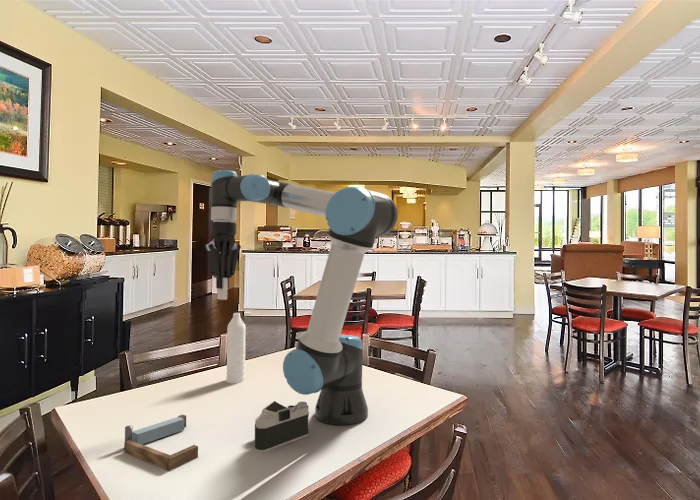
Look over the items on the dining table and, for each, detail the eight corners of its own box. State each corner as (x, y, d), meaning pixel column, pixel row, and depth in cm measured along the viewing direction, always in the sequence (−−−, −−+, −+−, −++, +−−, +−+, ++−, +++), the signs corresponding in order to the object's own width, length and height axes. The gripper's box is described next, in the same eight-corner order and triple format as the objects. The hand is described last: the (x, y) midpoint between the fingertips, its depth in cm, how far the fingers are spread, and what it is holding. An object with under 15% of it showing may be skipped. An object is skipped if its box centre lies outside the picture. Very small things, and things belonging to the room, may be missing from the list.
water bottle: (230, 386, 156) (231, 314, 157) (223, 381, 162) (224, 312, 162) (253, 382, 162) (254, 312, 162) (246, 377, 167) (247, 310, 167)
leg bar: (137, 445, 106) (137, 434, 106) (131, 443, 108) (132, 431, 108) (184, 429, 116) (184, 419, 116) (178, 427, 118) (178, 416, 118)
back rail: (171, 467, 97) (172, 455, 97) (167, 469, 96) (167, 458, 96) (129, 450, 105) (129, 439, 105) (124, 452, 103) (124, 441, 104)
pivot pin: (133, 447, 106) (133, 426, 106) (127, 450, 105) (127, 428, 105) (129, 445, 107) (129, 425, 107) (123, 448, 106) (123, 427, 106)
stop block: (186, 426, 119) (186, 415, 119) (181, 428, 118) (181, 417, 118) (182, 425, 120) (182, 414, 120) (177, 427, 119) (178, 416, 119)
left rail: (197, 457, 102) (198, 446, 102) (169, 470, 95) (170, 458, 95) (193, 455, 102) (193, 444, 102) (165, 468, 96) (165, 457, 96)
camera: (292, 426, 121) (293, 389, 121) (314, 435, 115) (314, 396, 115) (242, 443, 109) (242, 402, 110) (262, 455, 103) (263, 411, 104)
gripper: (230, 223, 144) (229, 296, 144) (198, 220, 132) (196, 300, 132) (247, 223, 140) (246, 298, 140) (216, 220, 129) (214, 301, 129)
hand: (222, 299), depth 136 cm, fingers closed
